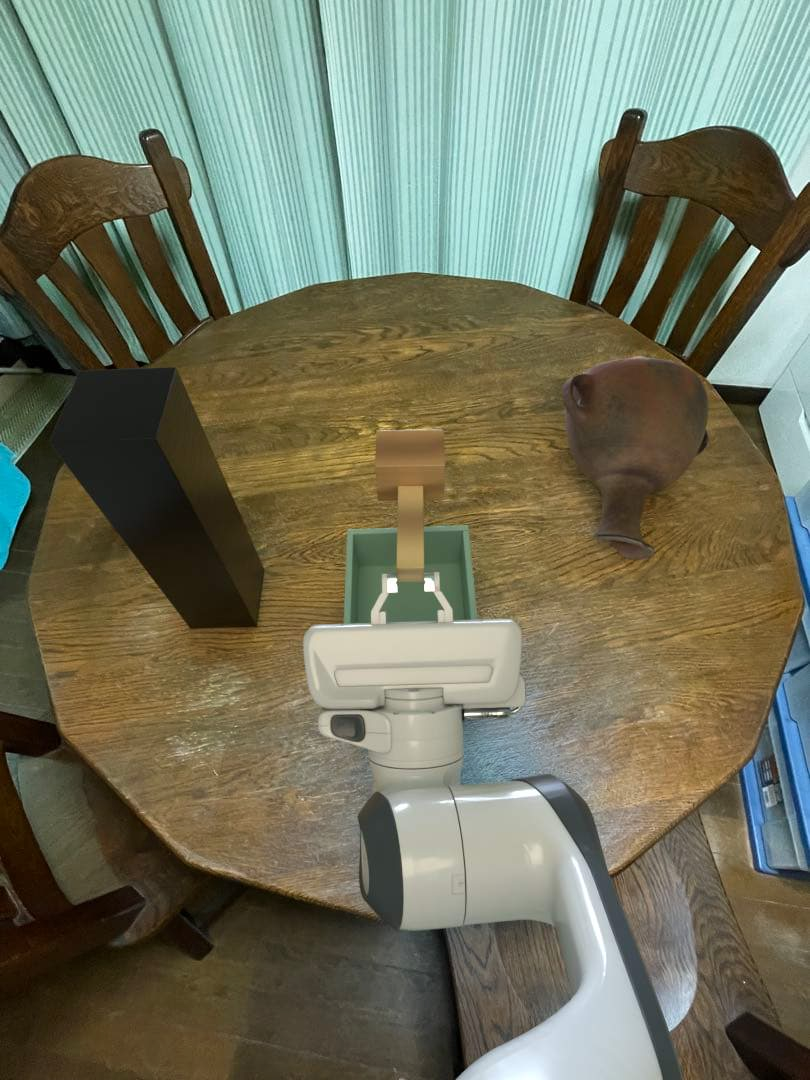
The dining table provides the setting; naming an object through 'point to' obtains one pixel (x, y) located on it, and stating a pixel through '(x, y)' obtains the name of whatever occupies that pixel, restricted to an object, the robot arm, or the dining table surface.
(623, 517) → the jug
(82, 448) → the stand
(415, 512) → the mallet
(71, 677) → the dining table surface
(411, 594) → the tray
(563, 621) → the dining table surface
